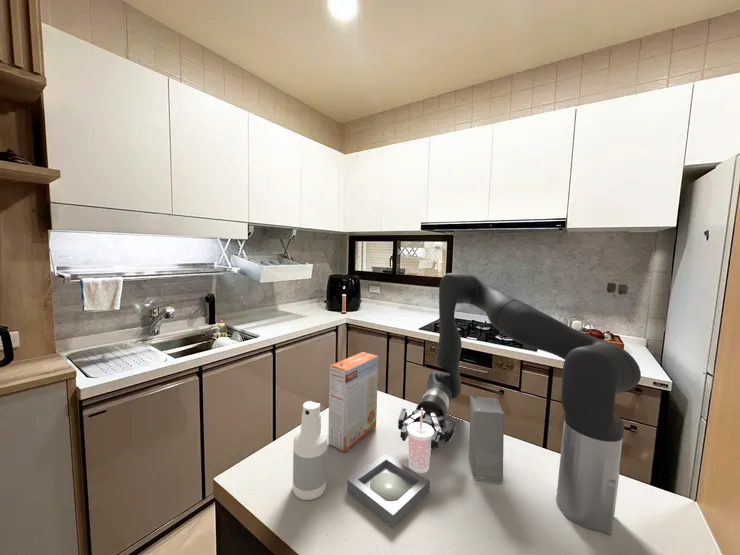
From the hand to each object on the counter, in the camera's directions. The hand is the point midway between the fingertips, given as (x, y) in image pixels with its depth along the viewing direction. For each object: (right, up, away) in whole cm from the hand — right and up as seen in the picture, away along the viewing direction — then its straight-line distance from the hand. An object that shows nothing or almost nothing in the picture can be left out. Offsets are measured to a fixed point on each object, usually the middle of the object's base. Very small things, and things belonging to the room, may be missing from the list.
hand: (417, 441), depth 70 cm
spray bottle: (-23, -7, -5) cm, 25 cm away
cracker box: (-15, -6, +14) cm, 21 cm away
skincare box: (+15, -8, +3) cm, 18 cm away
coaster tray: (-7, -8, -5) cm, 12 cm away
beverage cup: (+1, -8, +3) cm, 8 cm away
